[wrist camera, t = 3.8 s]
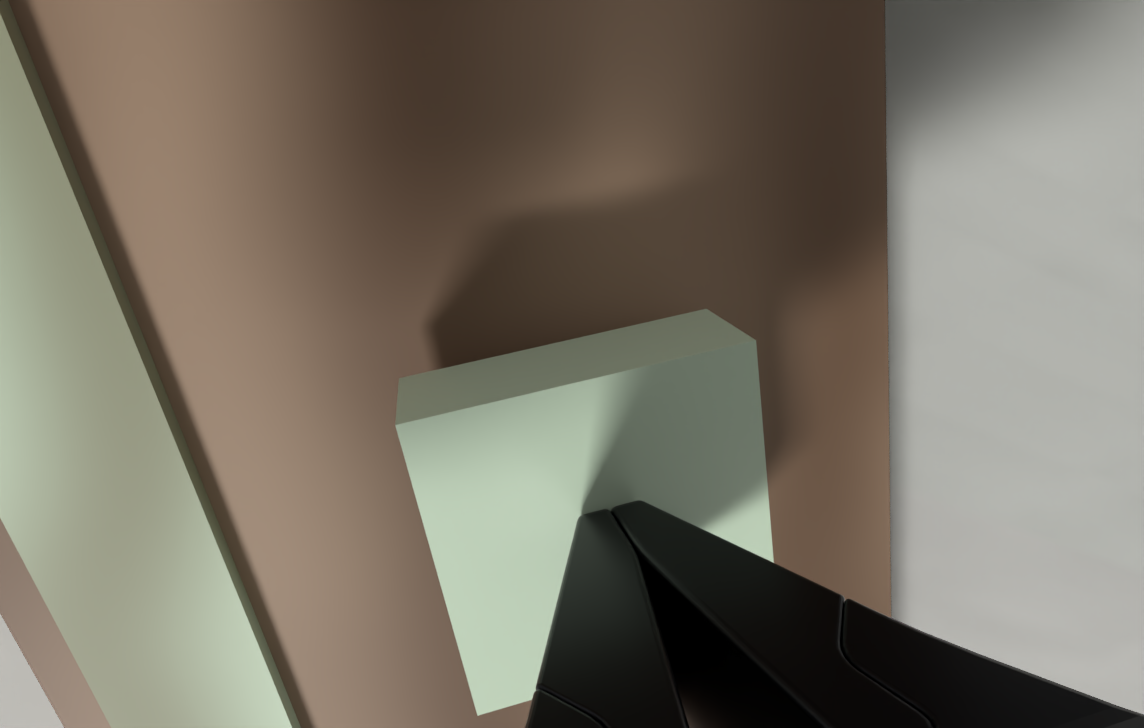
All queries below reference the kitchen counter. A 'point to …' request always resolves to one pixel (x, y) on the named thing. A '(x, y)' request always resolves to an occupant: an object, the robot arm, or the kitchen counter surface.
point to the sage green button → (575, 469)
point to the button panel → (392, 310)
